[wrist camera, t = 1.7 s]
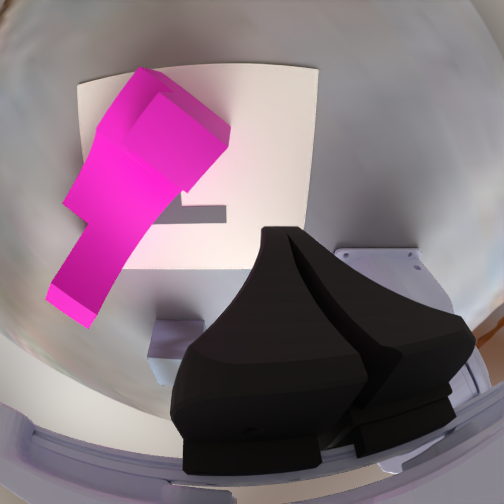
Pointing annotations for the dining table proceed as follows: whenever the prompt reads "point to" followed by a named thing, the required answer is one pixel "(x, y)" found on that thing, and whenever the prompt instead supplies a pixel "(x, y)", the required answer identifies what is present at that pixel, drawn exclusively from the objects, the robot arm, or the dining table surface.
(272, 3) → the dining table surface
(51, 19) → the dining table surface
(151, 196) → the toy block
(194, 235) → the letter board
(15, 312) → the dining table surface
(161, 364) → the slate-blue cube
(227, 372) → the robot arm
